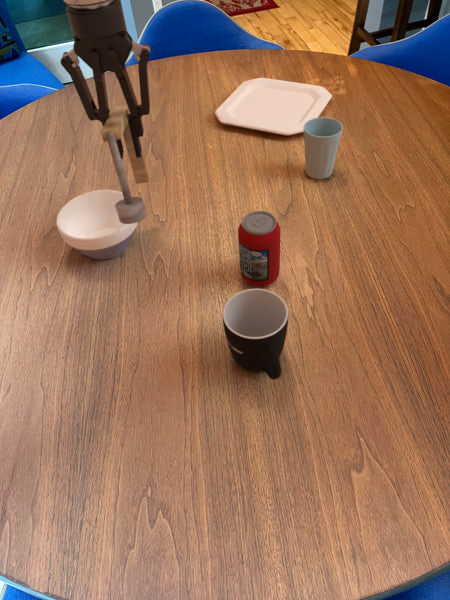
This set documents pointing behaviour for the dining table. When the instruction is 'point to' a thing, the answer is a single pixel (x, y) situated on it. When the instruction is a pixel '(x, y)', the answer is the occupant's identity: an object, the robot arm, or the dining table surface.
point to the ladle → (112, 130)
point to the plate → (273, 105)
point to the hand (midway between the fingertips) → (130, 153)
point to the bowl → (95, 224)
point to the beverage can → (259, 248)
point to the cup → (321, 146)
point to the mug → (256, 330)
